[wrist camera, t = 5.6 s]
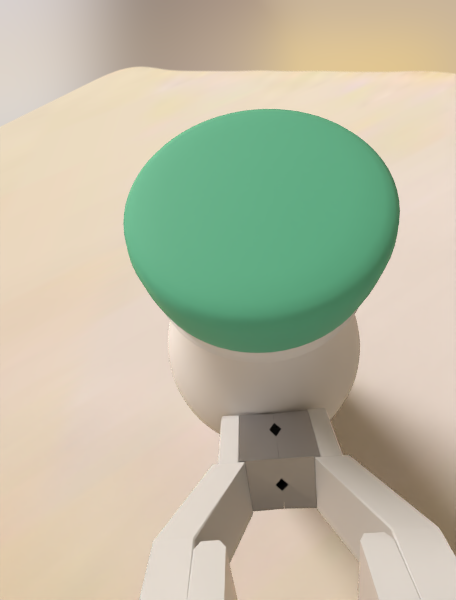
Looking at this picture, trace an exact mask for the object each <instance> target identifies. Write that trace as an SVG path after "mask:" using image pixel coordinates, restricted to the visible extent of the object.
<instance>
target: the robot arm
mask: <svg viewBox="0 0 456 600" xmlns="http://www.w3.org/2000/svg"><path fill="white" fill-rule="evenodd" d="M284 507H285V509H287V508H317V510H318V511H319V512H320V514H321V515H322V516H323V517H324V519H325V520H326V521H327V522H328V524H329V525H330V526H331V528H332V529H333V530H334V531H335V533H336V534H337V535H338V536H339V538H340V539H341V540H342V541H343V543H344V544H345V545H346V547H347V548H348V549H349V550H350V552H351V553H352V554H353V555H354V557H355V558H356V559H357V560H358V562H359V583H358V600H456V556H455V555H454V553H453V551H452V549H451V548H450V546H449V544H448V542H447V540H446V539H445V537H444V535H443V533H442V532H441V530H440V528H439V527H438V526H436V525H435V524H434V523H433V522H431V521H430V520H429V519H428V518H426V517H425V516H424V515H423V514H421V513H420V512H419V511H418V510H417V509H415V508H414V507H413V506H412V505H410V504H409V503H408V502H407V501H405V500H404V499H403V498H402V497H400V496H399V495H398V494H397V493H395V492H394V491H393V490H392V489H391V488H389V487H388V486H387V485H386V484H384V483H383V482H382V481H381V480H379V479H378V478H377V477H376V476H374V475H373V474H372V473H371V472H370V471H368V470H367V469H366V468H365V467H363V466H362V465H361V464H360V463H358V462H357V461H356V460H355V459H353V458H352V457H351V456H350V455H343V453H342V451H341V448H340V445H339V443H338V440H337V437H336V435H335V432H334V429H333V427H332V424H331V421H330V419H329V416H328V413H327V411H326V409H325V408H317V409H307V410H298V411H287V412H277V413H263V414H246V415H240V416H239V415H236V416H223V417H222V419H221V429H220V442H219V456H218V464H213V465H212V466H211V467H210V468H209V470H208V471H207V472H206V474H205V475H204V476H203V477H202V479H201V480H200V481H199V483H198V484H197V485H196V487H195V488H194V489H193V490H192V492H191V493H190V494H189V496H188V497H187V498H186V499H185V501H184V502H183V503H182V505H181V506H180V507H179V508H178V510H177V511H176V512H175V514H174V515H173V516H172V518H171V519H170V520H169V521H168V523H167V524H166V525H165V527H164V528H163V529H162V530H161V532H160V533H159V534H158V536H157V537H156V538H155V539H154V541H153V544H152V548H151V552H150V556H149V560H148V565H147V569H146V573H145V577H144V581H143V585H142V590H141V594H140V598H139V600H237V595H236V591H235V586H234V582H233V577H232V573H231V568H230V562H231V559H232V557H233V555H234V553H235V551H236V549H237V547H238V544H239V542H240V540H241V538H242V536H243V534H244V532H245V530H246V527H247V525H248V523H249V521H250V519H251V517H252V515H253V511H262V510H273V509H284Z"/></svg>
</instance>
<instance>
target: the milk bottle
mask: <svg viewBox="0 0 456 600" xmlns="http://www.w3.org/2000/svg"><path fill="white" fill-rule="evenodd" d="M399 214H400V208H399V198H398V193H397V189H396V186H395V183H394V180H393V178H392V176H391V173H390V171H389V169H388V168H387V166H386V165H385V163H384V162H383V160H382V159H381V158H380V157H379V155H378V154H377V153H376V152H375V151H374V150H373V149H372V148H371V147H370V146H369V145H368V144H367V143H366V142H365V141H363V140H362V139H361V138H360V137H358V136H357V135H355V134H354V133H352V132H351V131H349V130H347V129H346V128H344V127H342V126H340V125H338V124H336V123H334V122H332V121H329V120H327V119H324V118H321V117H318V116H315V115H311V114H307V113H303V112H298V111H291V110H280V109H258V110H247V111H240V112H235V113H230V114H226V115H222V116H219V117H216V118H213V119H210V120H207V121H205V122H202V123H200V124H198V125H196V126H193V127H191V128H190V129H188V130H186V131H184V132H182V133H181V134H179V135H178V136H176V137H175V138H173V139H172V140H171V141H169V142H168V143H167V144H165V145H164V146H163V147H162V148H161V149H160V150H159V151H158V152H157V153H156V154H155V155H154V156H153V157H152V158H151V159H150V160H149V161H148V162H147V163H146V165H145V166H144V167H143V168H142V170H141V171H140V173H139V174H138V176H137V178H136V180H135V181H134V183H133V185H132V187H131V190H130V192H129V195H128V198H127V202H126V206H125V212H124V235H125V240H126V245H127V249H128V254H129V257H130V260H131V263H132V266H133V268H134V270H135V272H136V274H137V276H138V277H139V279H140V280H141V282H142V283H143V285H144V287H145V288H146V290H147V291H148V293H149V294H150V296H151V297H152V299H153V300H154V301H155V302H156V304H157V305H158V306H159V307H160V308H161V309H162V311H163V312H164V313H165V314H166V315H167V317H168V318H169V320H170V325H169V333H168V355H169V362H170V366H171V370H172V374H173V377H174V380H175V383H176V385H177V387H178V390H179V392H180V393H181V395H182V397H183V398H184V400H185V402H186V403H187V405H188V406H189V407H190V409H191V410H192V411H193V413H194V414H195V415H196V416H197V417H198V418H199V419H200V420H201V421H202V422H203V423H205V424H206V425H207V426H208V427H210V428H211V429H212V430H214V431H215V432H217V433H219V434H220V429H221V419H222V417H223V416H236V415H239V416H240V415H246V414H263V413H277V412H287V411H298V410H307V409H317V408H325V409H326V411H327V413H328V416H329V419H331V418H332V417H333V416H334V415H335V414H336V413H337V411H338V410H339V409H340V408H341V406H342V404H343V403H344V401H345V399H346V398H347V396H348V394H349V392H350V390H351V388H352V386H353V383H354V380H355V377H356V373H357V369H358V363H359V355H360V339H359V331H358V325H357V321H356V317H355V313H356V311H357V309H358V307H359V306H360V305H361V304H362V302H363V301H364V300H365V299H366V297H367V296H368V295H369V294H370V292H371V291H372V289H373V288H374V286H375V285H376V283H377V281H378V280H379V278H380V276H381V274H382V273H383V271H384V269H385V267H386V265H387V263H388V261H389V259H390V257H391V255H392V252H393V249H394V246H395V242H396V237H397V232H398V225H399Z"/></svg>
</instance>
